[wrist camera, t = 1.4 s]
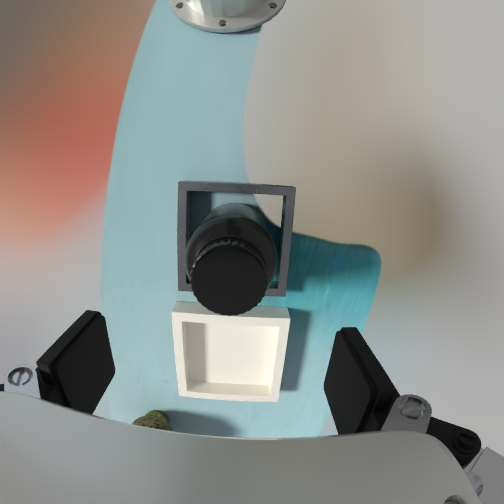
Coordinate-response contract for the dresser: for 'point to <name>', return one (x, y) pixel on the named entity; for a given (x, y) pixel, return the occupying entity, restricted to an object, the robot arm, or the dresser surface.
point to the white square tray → (230, 352)
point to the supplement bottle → (231, 260)
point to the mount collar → (187, 186)
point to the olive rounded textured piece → (154, 421)
